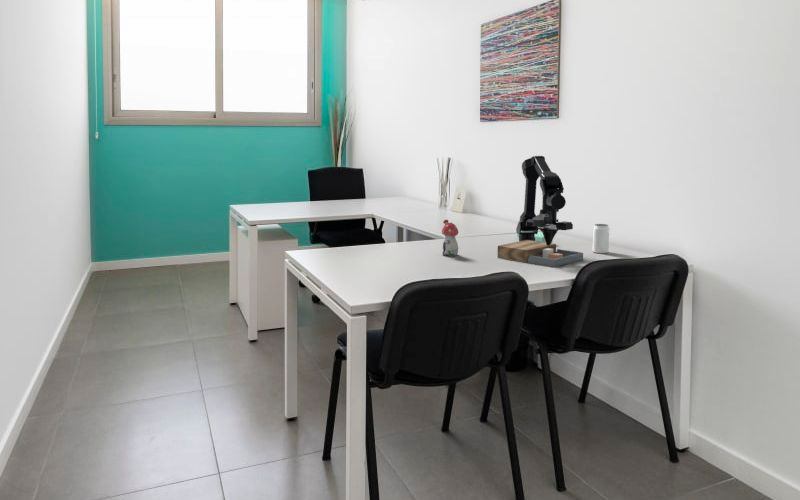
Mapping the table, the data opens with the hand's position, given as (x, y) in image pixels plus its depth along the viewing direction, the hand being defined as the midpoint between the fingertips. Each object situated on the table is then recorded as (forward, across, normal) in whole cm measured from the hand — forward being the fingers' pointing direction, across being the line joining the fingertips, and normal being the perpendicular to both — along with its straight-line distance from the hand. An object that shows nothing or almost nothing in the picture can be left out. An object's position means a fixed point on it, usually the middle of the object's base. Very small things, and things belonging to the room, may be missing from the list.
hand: (548, 245), depth 247 cm
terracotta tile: (+3, +3, 0) cm, 5 cm away
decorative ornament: (+6, -36, -20) cm, 42 cm away
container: (+6, -32, +34) cm, 47 cm away
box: (+6, +4, 0) cm, 7 cm away
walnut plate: (+6, -11, 0) cm, 12 cm away
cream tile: (+4, -2, +1) cm, 4 cm away
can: (+6, +6, +30) cm, 31 cm away
